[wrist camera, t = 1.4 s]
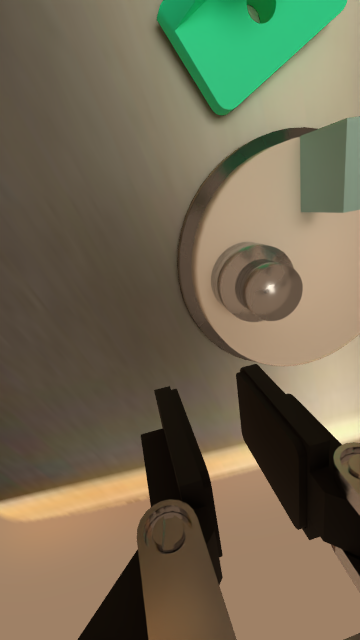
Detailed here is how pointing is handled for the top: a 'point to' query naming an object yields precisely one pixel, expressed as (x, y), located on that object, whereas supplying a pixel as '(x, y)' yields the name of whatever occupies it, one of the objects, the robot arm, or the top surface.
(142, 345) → the top surface
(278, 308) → the cover
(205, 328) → the turntable base
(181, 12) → the camera mount
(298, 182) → the turntable
